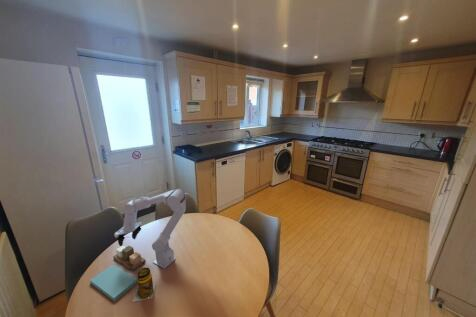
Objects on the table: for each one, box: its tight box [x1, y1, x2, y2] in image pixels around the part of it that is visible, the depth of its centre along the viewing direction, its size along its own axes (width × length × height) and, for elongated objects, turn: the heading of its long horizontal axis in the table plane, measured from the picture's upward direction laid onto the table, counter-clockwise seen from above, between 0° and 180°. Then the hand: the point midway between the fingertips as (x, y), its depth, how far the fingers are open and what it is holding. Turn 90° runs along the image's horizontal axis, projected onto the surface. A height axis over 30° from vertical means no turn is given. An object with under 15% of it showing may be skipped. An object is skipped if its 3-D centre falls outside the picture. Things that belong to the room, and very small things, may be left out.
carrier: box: [112, 245, 146, 272], centre depth 105 cm, size 18×7×8 cm, turn 63°
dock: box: [89, 264, 138, 303], centre depth 92 cm, size 20×11×2 cm, turn 63°
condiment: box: [132, 267, 157, 303], centre depth 86 cm, size 7×8×12 cm
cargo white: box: [115, 245, 127, 258], centre depth 108 cm, size 4×4×4 cm
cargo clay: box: [129, 251, 142, 265], centre depth 103 cm, size 4×4×4 cm
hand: (127, 241), depth 105 cm, fingers open, 7 cm apart
